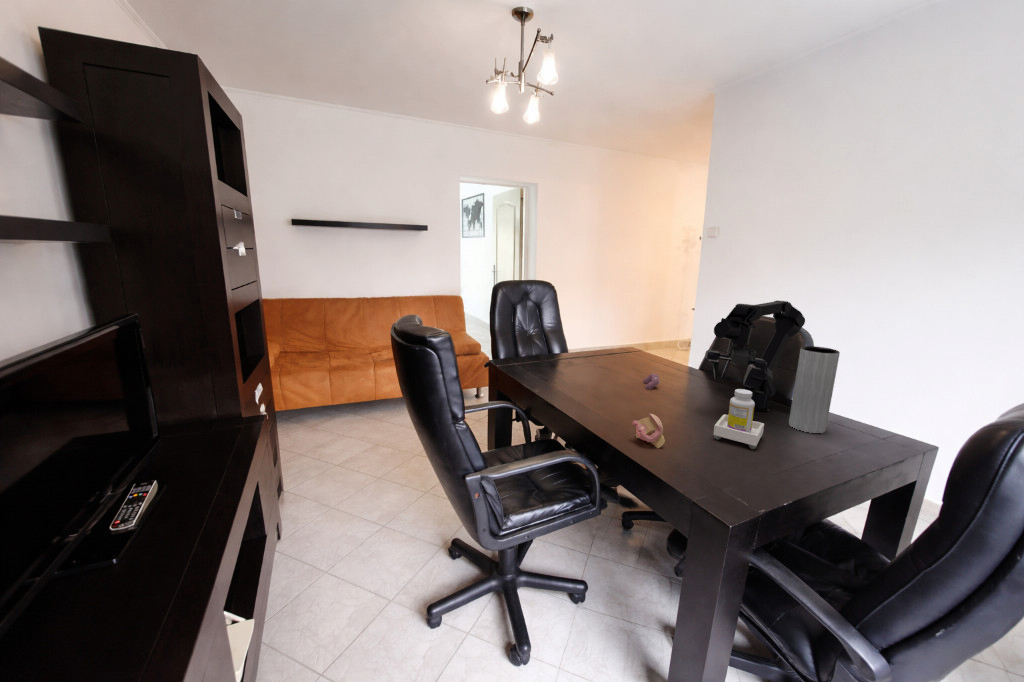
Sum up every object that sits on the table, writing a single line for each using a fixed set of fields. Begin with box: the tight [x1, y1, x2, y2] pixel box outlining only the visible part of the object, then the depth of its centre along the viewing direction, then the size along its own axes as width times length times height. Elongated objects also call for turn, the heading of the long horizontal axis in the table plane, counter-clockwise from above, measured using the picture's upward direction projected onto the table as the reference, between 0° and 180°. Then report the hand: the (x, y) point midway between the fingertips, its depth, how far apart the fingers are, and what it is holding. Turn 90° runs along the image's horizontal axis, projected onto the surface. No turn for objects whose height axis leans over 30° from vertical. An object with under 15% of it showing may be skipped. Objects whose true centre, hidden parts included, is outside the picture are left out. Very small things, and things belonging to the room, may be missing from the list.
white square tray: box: [713, 413, 765, 450], centre depth 124 cm, size 12×12×5 cm
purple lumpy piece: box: [642, 372, 660, 390], centre depth 174 cm, size 10×5×7 cm, turn 169°
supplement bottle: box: [727, 388, 755, 433], centre depth 123 cm, size 7×7×13 cm
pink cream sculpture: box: [631, 413, 666, 449], centre depth 122 cm, size 9×10×10 cm
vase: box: [788, 345, 841, 434], centre depth 130 cm, size 10×10×27 cm
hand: (729, 382), depth 141 cm, fingers open, 9 cm apart
